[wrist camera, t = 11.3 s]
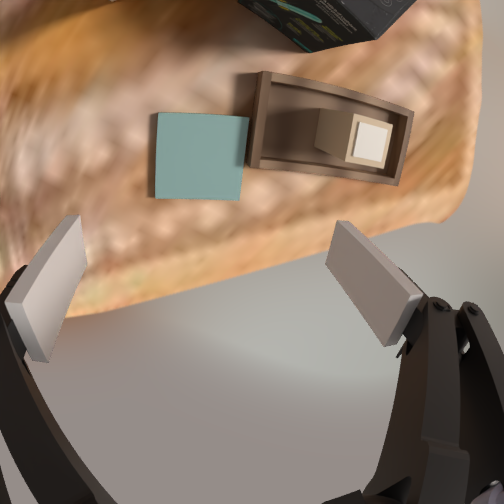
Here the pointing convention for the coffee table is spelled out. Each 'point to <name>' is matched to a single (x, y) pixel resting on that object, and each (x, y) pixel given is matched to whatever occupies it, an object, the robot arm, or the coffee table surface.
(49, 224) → the coffee table surface
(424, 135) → the coffee table surface
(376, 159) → the kraft box
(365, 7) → the tampon box
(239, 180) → the teal pad
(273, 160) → the walnut bin
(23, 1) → the coffee table surface
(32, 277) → the robot arm
